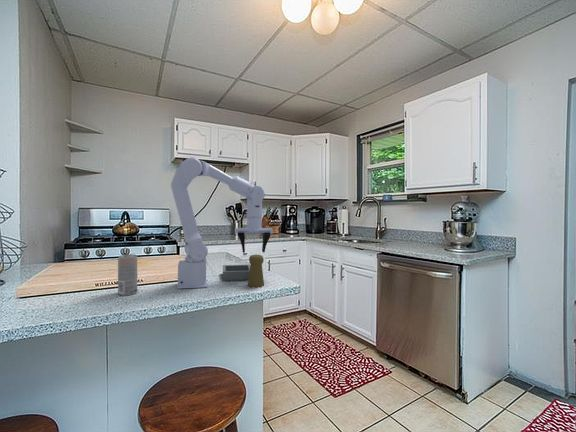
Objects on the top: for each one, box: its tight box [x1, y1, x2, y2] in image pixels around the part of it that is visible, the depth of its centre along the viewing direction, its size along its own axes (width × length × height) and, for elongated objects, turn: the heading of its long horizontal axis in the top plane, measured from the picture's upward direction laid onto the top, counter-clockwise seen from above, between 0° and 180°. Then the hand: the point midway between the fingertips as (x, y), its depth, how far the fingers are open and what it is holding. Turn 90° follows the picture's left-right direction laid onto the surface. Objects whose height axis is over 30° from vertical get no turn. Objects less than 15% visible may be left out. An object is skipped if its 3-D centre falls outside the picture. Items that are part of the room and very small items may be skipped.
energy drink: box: [117, 253, 138, 297], centre depth 90 cm, size 5×5×12 cm
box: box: [222, 264, 251, 282], centre depth 113 cm, size 11×11×4 cm
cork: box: [247, 254, 265, 288], centre depth 103 cm, size 6×6×11 cm
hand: (253, 252), depth 111 cm, fingers open, 7 cm apart
